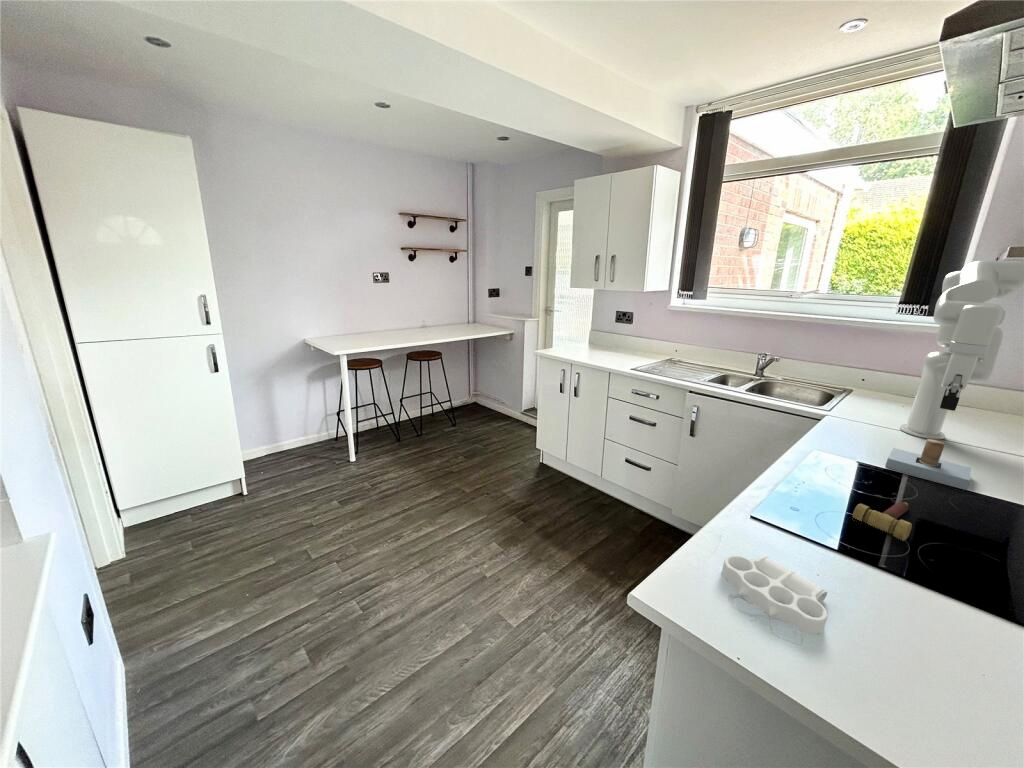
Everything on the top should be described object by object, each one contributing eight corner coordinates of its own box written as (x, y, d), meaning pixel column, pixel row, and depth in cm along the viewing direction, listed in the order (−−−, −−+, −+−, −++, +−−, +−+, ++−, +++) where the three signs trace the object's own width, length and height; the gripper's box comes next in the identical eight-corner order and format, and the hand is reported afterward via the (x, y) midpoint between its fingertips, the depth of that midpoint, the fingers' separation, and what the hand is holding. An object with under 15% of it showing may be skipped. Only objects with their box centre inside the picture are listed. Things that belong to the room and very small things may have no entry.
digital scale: (890, 455, 141) (893, 447, 141) (967, 476, 129) (970, 467, 128) (885, 466, 134) (887, 458, 133) (966, 489, 121) (969, 480, 120)
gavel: (884, 487, 115) (934, 505, 107) (879, 502, 116) (928, 521, 109) (855, 505, 104) (907, 526, 96) (850, 521, 105) (901, 544, 97)
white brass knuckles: (844, 613, 77) (805, 649, 70) (748, 555, 92) (707, 580, 85) (849, 598, 76) (809, 633, 69) (751, 542, 91) (709, 566, 84)
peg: (917, 467, 134) (927, 438, 131) (935, 471, 131) (945, 442, 128) (915, 471, 131) (925, 441, 129) (934, 476, 129) (944, 446, 126)
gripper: (950, 343, 128) (933, 396, 133) (947, 350, 117) (928, 408, 122) (987, 347, 123) (967, 402, 128) (987, 355, 112) (965, 416, 117)
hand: (948, 405), depth 125 cm, fingers open, 9 cm apart
